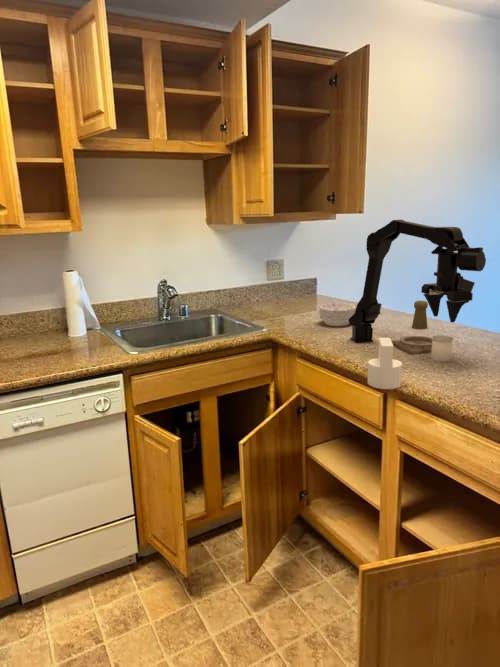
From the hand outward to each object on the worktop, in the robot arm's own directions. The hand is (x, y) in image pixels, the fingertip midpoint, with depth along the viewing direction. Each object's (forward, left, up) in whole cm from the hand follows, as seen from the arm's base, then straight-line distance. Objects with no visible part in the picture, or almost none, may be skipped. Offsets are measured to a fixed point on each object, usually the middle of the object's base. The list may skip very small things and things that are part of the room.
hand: (443, 319), depth 149 cm
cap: (0, 0, -13) cm, 13 cm away
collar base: (0, +14, -13) cm, 19 cm away
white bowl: (-14, +56, -13) cm, 59 cm away
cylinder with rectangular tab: (-27, -16, -13) cm, 34 cm away
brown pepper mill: (+15, +40, -13) cm, 45 cm away
